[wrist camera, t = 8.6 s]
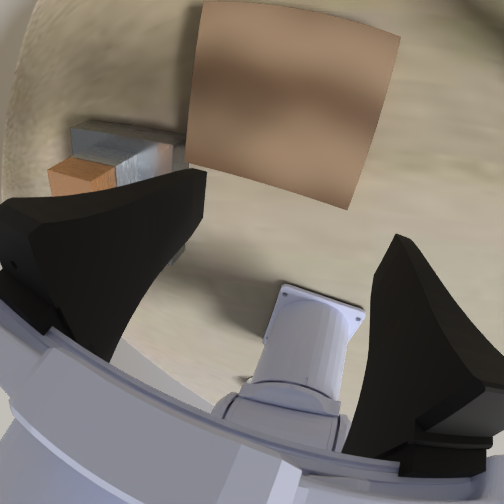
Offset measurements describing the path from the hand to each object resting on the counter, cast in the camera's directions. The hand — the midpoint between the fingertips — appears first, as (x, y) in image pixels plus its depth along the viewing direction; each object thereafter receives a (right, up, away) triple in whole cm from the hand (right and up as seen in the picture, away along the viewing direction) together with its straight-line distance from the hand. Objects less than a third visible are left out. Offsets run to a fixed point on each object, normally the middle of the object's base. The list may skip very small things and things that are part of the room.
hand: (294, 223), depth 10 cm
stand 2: (+1, +9, +6) cm, 11 cm away
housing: (-13, +4, +12) cm, 18 cm away
